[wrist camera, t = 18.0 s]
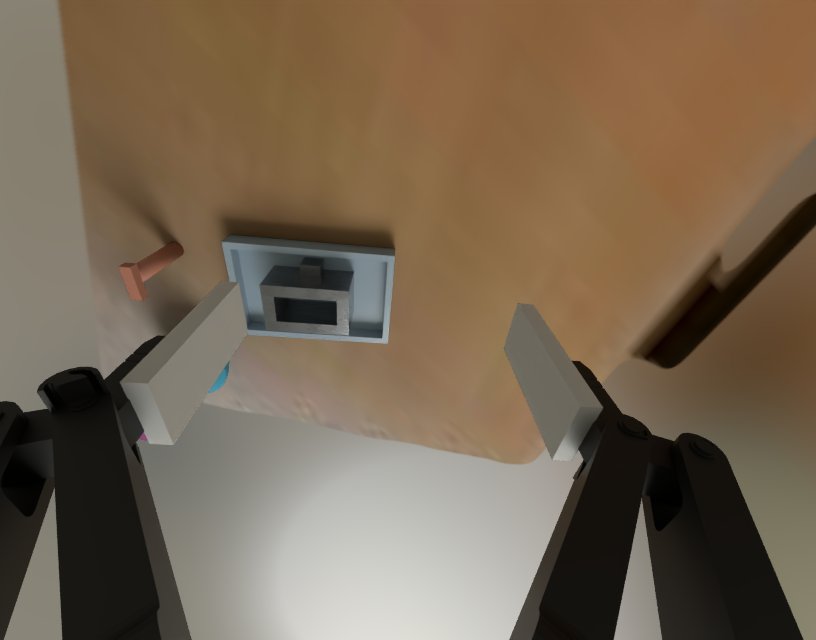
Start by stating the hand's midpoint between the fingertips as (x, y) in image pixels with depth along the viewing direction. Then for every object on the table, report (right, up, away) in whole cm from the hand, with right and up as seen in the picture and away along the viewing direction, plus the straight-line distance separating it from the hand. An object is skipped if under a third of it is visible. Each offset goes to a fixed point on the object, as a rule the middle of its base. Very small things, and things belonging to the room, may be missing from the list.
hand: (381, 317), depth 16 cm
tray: (-11, +4, +29) cm, 31 cm away
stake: (-27, +9, +25) cm, 38 cm away
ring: (-11, +4, +28) cm, 30 cm away
